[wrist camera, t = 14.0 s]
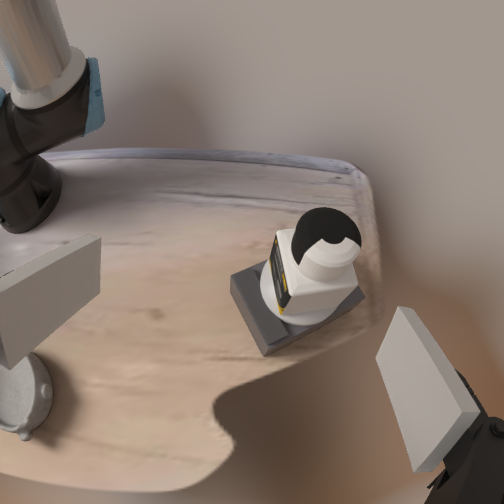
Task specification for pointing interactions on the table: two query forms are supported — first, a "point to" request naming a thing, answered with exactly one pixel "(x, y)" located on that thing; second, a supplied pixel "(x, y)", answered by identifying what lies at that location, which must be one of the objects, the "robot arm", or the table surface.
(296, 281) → the medicine bottle
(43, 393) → the dish
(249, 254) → the table surface
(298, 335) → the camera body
